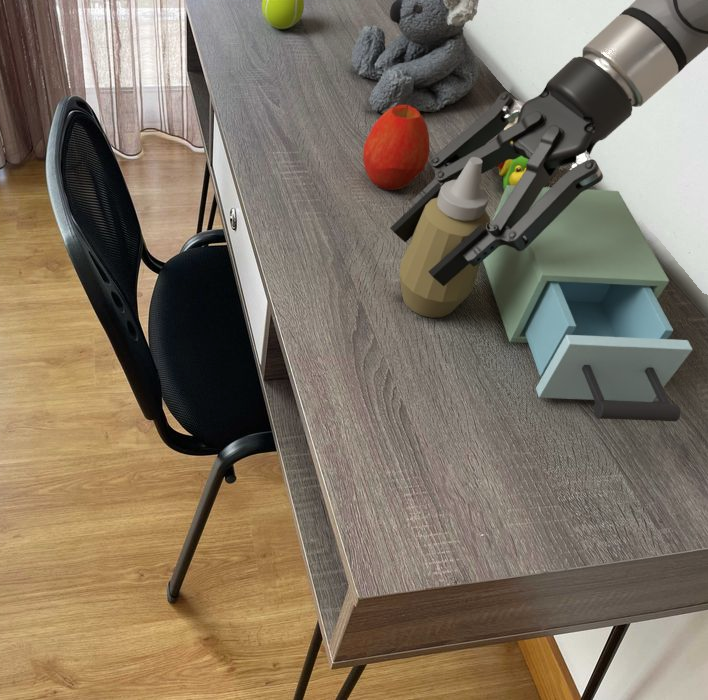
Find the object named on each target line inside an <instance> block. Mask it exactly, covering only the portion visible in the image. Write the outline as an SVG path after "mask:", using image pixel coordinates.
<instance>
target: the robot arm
mask: <svg viewBox="0 0 708 700" xmlns="http://www.w3.org/2000/svg"><path fill="white" fill-rule="evenodd" d="M707 49H708V0H635V1H633V2H632V3H631V4H630V5H629V6H628V7H627V8H625V9H624V10H623V11H622V12H621V13H619V15H617V16H616V17H615V18H614V19H613V20H612V21H611V22H609V23H608V24H607V25H606V27H604V28H603V29H602V30H601V31H600V32H598V34H597V35H595V37H593V38H592V39H591V40H590V41H589V42H588V43H586V45H585V46H584V47H583V48H582V56H575V57H573V58H572V59H570V60H569V61H568V62H567V63H566V64H565V65H564V66H563V67H562V68H560V70H559V71H557V73H556V74H555V75H554V76H552V77H551V79H549V80H548V82H547V83H546V85H545V87H544V88H543V90H542V92H541V93H540V94H539V95H537V96H535V97H532V98H531V99H529V100H527V101H522V100H519V99H516V98H514V97H513V96H512V94H511V92H509V91H503V92H502V93H500V94H499V95H498V97H497V98H496V99H495V101H494V102H493V103H492V106H491V107H490V108H489V109H488V110H487V111H486V112H485V113H484V114H482V115H481V116H480V117H479V118H478V119H476V120H475V121H474V122H473V123H472V124H471V125H470V126H468V127H467V128H466V129H464V130H463V131H462V132H461V133H460V134H459V135H457V136H456V137H455V138H454V139H453V140H451V141H450V142H449V143H448V144H447V145H446V146H444V147H443V148H442V149H441V150H440V151H438V153H436V154H435V155H434V156H432V157H431V159H430V165H431V166H432V168H433V172H434V177H433V179H432V180H431V182H429V183H428V184H427V185H426V186H425V187H423V189H422V190H421V191H419V193H418V194H416V196H415V197H414V198H413V200H412V203H413V206H412V207H410V208H409V209H408V210H407V211H406V212H405V213H404V214H403V215H402V216H401V217H399V219H398V220H396V222H395V223H394V224H393V225H391V226H390V228H389V229H390V230H391V231H392V233H394V235H396V236H397V237H398V238H399V239H400V240H401V241H403V242H404V243H407V242H408V241H410V240H411V238H412V236H413V233H414V231H415V229H416V227H417V224H418V222H419V220H420V217H421V215H422V213H423V210H424V208H425V206H426V204H427V203H428V202H429V201H430V200H431V199H434V198H437V197H438V195H439V192H440V189H441V186H442V185H443V184H444V183H445V182H448V181H451V180H457V179H458V177H459V175H460V174H461V172H462V171H463V169H464V167H465V166H466V164H467V163H468V161H469V159H470V158H471V157H478V158H480V159H481V160H482V170H481V175H483V174H485V173H486V172H488V171H490V170H493V169H494V168H497V167H496V166H497V165H499V164H501V163H503V162H505V161H507V160H509V159H511V160H514V159H516V158H518V157H520V156H523V157H524V158H527V159H529V161H528V162H527V165H526V170H525V172H524V174H523V175H522V177H521V178H520V180H519V181H518V183H517V185H516V186H515V188H514V189H513V191H512V192H511V194H510V196H509V197H508V199H507V200H506V202H505V203H504V205H503V206H502V208H501V210H500V211H499V213H498V214H497V216H496V217H495V219H494V220H493V219H492V221H493V222H492V221H491V223H492V224H491V223H490V224H488V223H487V224H486V229H487V230H488V232H487V231H486V230H485V229H484V228H483V227H482V226H481V225H480V226H478V227H477V228H476V229H475V230H474V231H473V232H472V233H471V234H470V235H468V236H467V237H466V238H465V239H464V240H463V241H462V242H461V243H460V244H458V245H457V246H456V247H455V248H454V249H453V250H452V251H451V252H450V253H448V254H447V255H446V256H445V257H444V258H443V259H442V260H441V261H440V262H438V263H437V264H436V265H435V266H434V267H433V268H432V269H431V270H430V271H429V273H430V274H431V276H432V277H433V278H435V279H436V280H437V281H438V282H439V283H440V284H441V285H443V286H445V285H446V284H447V283H448V282H449V281H450V280H451V279H452V278H454V277H455V276H456V275H457V274H458V273H459V272H460V271H461V270H463V269H464V268H465V267H466V266H467V265H468V264H469V263H470V264H471V265H472V266H473V267H474V266H476V265H478V264H480V265H481V263H483V260H484V259H485V258H486V257H488V256H489V255H490V254H491V253H492V252H493V251H494V250H496V249H497V248H498V247H499V246H501V245H507V246H510V247H512V248H515V249H516V250H517V251H523V250H524V249H526V248H527V247H528V246H529V245H530V244H531V243H532V242H533V241H534V240H535V239H536V238H537V236H538V235H539V234H540V233H541V232H542V231H543V230H544V229H545V228H546V227H547V226H548V225H549V224H550V223H551V222H552V221H553V220H554V219H555V218H556V217H557V216H558V215H559V214H560V213H561V212H562V211H563V210H564V209H565V208H566V207H567V206H568V205H569V204H570V203H571V202H572V201H573V200H574V199H575V198H576V197H577V196H578V195H579V194H580V193H581V192H583V191H585V190H587V189H591V188H592V187H593V186H596V185H597V184H599V183H600V182H602V180H603V178H604V175H603V172H602V170H601V169H600V167H599V165H598V163H597V161H596V160H595V159H593V158H592V157H591V156H590V155H591V154H592V151H593V148H594V147H595V145H596V144H597V143H599V142H600V141H604V140H605V139H607V138H608V137H609V136H610V135H611V134H612V133H613V132H615V130H617V129H618V128H619V127H620V126H621V125H622V124H623V123H624V122H626V121H627V120H628V119H629V118H630V117H632V112H633V108H638V107H642V106H643V105H644V104H645V103H646V102H648V101H649V100H650V99H651V98H652V97H653V96H654V95H656V94H657V93H658V92H659V91H660V90H661V89H663V87H665V86H666V84H668V83H669V82H670V81H671V80H673V79H674V78H675V77H676V76H677V75H678V74H679V73H681V71H682V70H683V69H684V68H685V67H687V66H688V65H689V64H690V63H691V62H692V61H693V60H695V59H696V58H697V57H698V56H699V55H701V53H703V52H704V51H705V50H707ZM517 117H518V120H517V123H516V124H515V125H513V126H511V127H509V128H507V129H506V130H504V128H505V127H506V126H507V125H508V124H509V122H510V123H514V122H515V120H516V119H515V118H517ZM495 137H496V138H495ZM511 141H512V142H513V143H511ZM567 165H570V168H569V170H568V171H567V172H566V173H564V174H563V175H562V176H560V178H559V179H558V180H557V181H556V182H555V183H554V184H552V186H551V188H550V189H549V190H548V191H547V192H546V193H545V194H544V195H543V196H542V197H541V198H540V199H539V200H538V201H537V203H536V204H535V205H534V206H533V207H532V208H531V209H530V207H531V206H532V204H533V203H534V201H535V200H536V198H537V197H538V195H539V193H540V192H541V190H542V189H543V187H546V186H547V185H549V184H550V183H551V182H552V180H553V178H554V177H555V175H556V173H557V172H558V170H559V169H560V167H564V166H567ZM529 209H530V210H529ZM528 210H529V211H528Z"/></svg>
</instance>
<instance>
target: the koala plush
mask: <svg viewBox="0 0 708 700" xmlns="http://www.w3.org/2000/svg"><path fill="white" fill-rule="evenodd" d="M479 1H480V0H394V2H393V3H392V4H391V5H390V9H389V18H390V20H391V21H392V22H394V23H395V24H396V25H397V26H398V28H399V31H400V32H401V33H399V35H398V36H397V37H396V38H394V39H393V40H392V41H391V42H390V43H389V44H388V45H387V46H386V36H385V31H384V30H383V28H381V27H379V26H378V25H373V26H372V25H365V26H364V27H363V28H362V29H361V32H360V33H359V36H358V37H357V40H356V42H355V44H354V47H353V49H352V53H351V65H352V67H353V68H354V70H355V71H356V72H357V73H358V76H361V77H364V78H366V79H371V80H373V81H378V82H377V84H376V85H374V88H373V89H372V91H371V92H370V96H369V105H370V106H371V109H372V110H373V111H375V112H376V113H378V112H379V113H381V114H382V115H383V114H384V113H385V112H386V111H387V110H389V109H390V108H393V107H395V106H398V105H409V106H411V107H413V108H415V109H416V110H417V111H418V112H419V113H421V112H425V113H429V112H430V113H434V112H438V111H441V109H443V108H445V105H446V106H447V105H452V104H454V103H456V102H457V101H460V100H461V99H462V98H464V97H465V96H466V95H468V93H469V92H470V91H471V90H472V88H473V87H474V85H476V82H477V80H478V74H479V68H478V63H477V61H476V60H477V59H476V57H475V54H474V52H473V50H472V49H471V47H470V46H469V44H468V40H467V38H466V37H465V35H464V27H465V25H466V23H468V22H469V21H471V22H472V21H473V20H474V17H475V16H476V15H477V13H478V6H479Z"/></svg>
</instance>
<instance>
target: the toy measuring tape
mask: <svg viewBox="0 0 708 700" xmlns="http://www.w3.org/2000/svg"><path fill="white" fill-rule="evenodd" d="M515 119H516V120H515V122H514V123H510V122H509V124H508V125H507V126H506V127H505V128H504V129H503V131H504V130H506V129H507V128H509V127H511V126H513V125H515V124H516V123H517V120H518V117H517V118H515ZM511 143H513V142H512V141H511ZM528 161H529V159H527V158H524V157H523V156H520V157H518V158H516V159H514V160H511V159H509V160H507V161H505V162H503V163H501V164H499V165H497V166H496V167H495V168H498V174H499V176H501V177H502V186H503V187H502V189H503V191H504V190H505V188H506V185H513V186H516V185H517V183H518V181H519V180H520V178H521V177H522V175H523V174H524V172H525V170H526V165H527V162H528Z"/></svg>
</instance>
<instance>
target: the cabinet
mask: <svg viewBox="0 0 708 700" xmlns="http://www.w3.org/2000/svg"><path fill="white" fill-rule="evenodd" d="M551 187H552V186H551ZM551 187H549V186H544V187H543V189H542V190H541V192H540V193H539V195H538V197H537V198H536V200H535V201H534V203H533V204H532V206H531V207H530V209H531V208H532V207H533V206H534V205H535V204H536V203H537V201H538V200H539V199H540V198H541V197H542V196H543V195H544V194H545V193H546V192H547V191H548V190H549V189H550V188H551ZM514 188H515V186H513V185H506V188H505V190H504V189H503V193H502V195H501V198H500V200H499V204H498V206H497V208H496V211H495V213H494V216H493V218H492V221H491V222H490V225H491V224H492V222H493V220H494V219H495V217H496V216H497V214H498V213H499V211H500V210H501V208H502V206H503V205H504V203H505V202H506V200H507V199H508V197H509V196H510V194H511V192H512V191H513V189H514ZM530 209H529V210H530ZM529 210H528V211H529ZM482 263H483V265H484V268H485V271H486V274H487V277H488V278H487V279H488V280H489V284H490V287H491V289H492V293H493V296H494V298H495V301H496V305H497V308H498V311H499V314H500V318H501V320H502V324H503V326H504V330H505V333H506V337H507V339H508V341H509V343H519V344H520V343H521V344H522V343H523V344H529V343H528V340H527V337H526V335H525V332H524V329H523V328H524V326H525V324H526V322H527V320H528V318H529V316H530V314H531V312H532V310H533V308H534V306H535V304H536V302H537V300H538V298H539V296H540V294H541V292H542V290H543V288H544V286H545V284H546V282H547V281H559V282H580V283H601V284H622V285H643V286H650V288H651V290H652V291H653V293H654V295H655V297H656V299H657V300H658V299H659V297H660V296H661V295H662V293H663V291H664V290H665V288H666V287H667V285H668V284H669V282H670V280H669V277H668V276H667V274H666V272H665V271H664V269H663V267H662V265H661V263H660V262H659V259H658V258H657V256H656V255H655V253H654V251H653V250H652V248H651V246H650V244H649V242H648V241H647V239H646V237H645V235H644V234H643V231H642V230H641V228H640V227H639V225H638V223H637V221H636V220H635V218H634V216H633V214H632V212H631V211H630V209H629V207H628V205H627V203H626V202H625V200H624V198H623V197H622V195H621V193H620V191H619V190H606V189H590V188H588V189H587V190H585V191H583V192H581V193H580V194H579V195H578V196H577V197H576V198H575V199H574V200H573V201H572V202H571V203H570V204H569V205H568V206H567V207H566V208H565V209H564V210H563V211H562V212H561V213H560V214H559V215H558V216H557V217H556V218H555V219H554V220H553V221H552V222H551V223H550V224H549V225H548V226H547V227H546V228H545V229H544V230H543V231H542V232H541V233H540V234H539V235H538V236H537V238H536V239H535V240H534V241H533V242H532V243H531V244H530V245H529V246H528V247H527V248H526V249H524V250H523V251H517V250H516V249H515V248H512V247H510V246H507V245H501V246H499V247H498V248H497V249H496V250H494V251H493V252H492V253H491V254H490V255H489V256H488V257H486V258H485V259H484V260H483V261H482Z"/></svg>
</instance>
